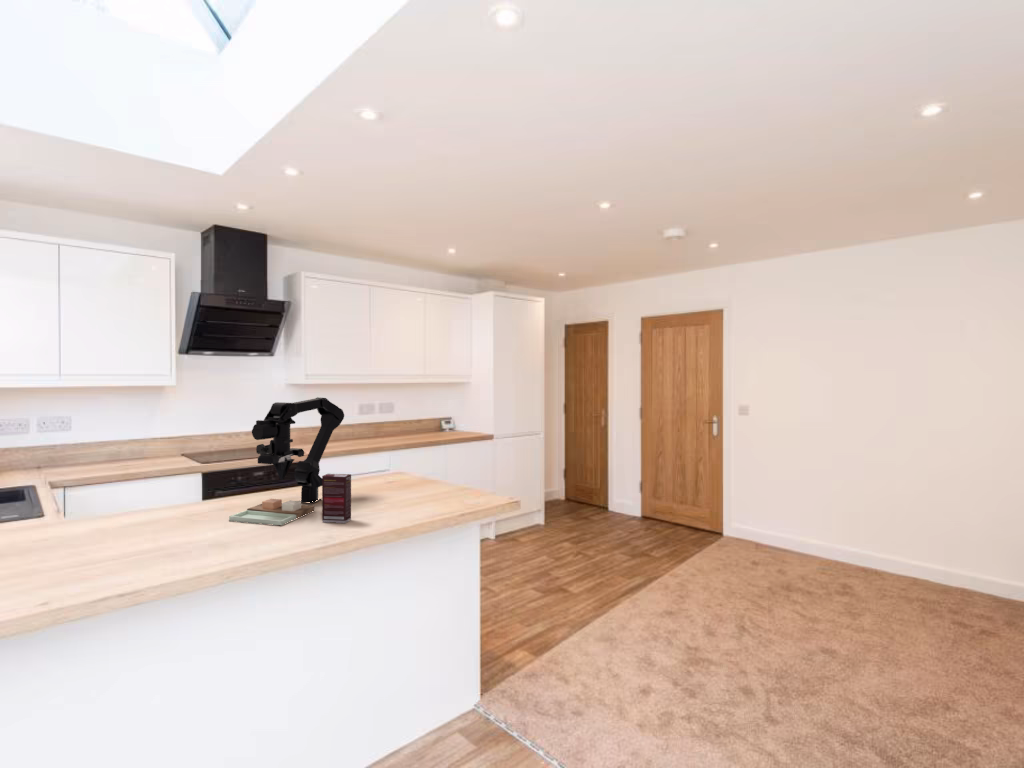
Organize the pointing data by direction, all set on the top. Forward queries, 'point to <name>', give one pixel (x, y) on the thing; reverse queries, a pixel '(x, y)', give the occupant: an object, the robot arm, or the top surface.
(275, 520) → the green tray
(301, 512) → the walnut board
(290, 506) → the cream tile
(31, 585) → the top surface
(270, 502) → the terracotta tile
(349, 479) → the supplement box
